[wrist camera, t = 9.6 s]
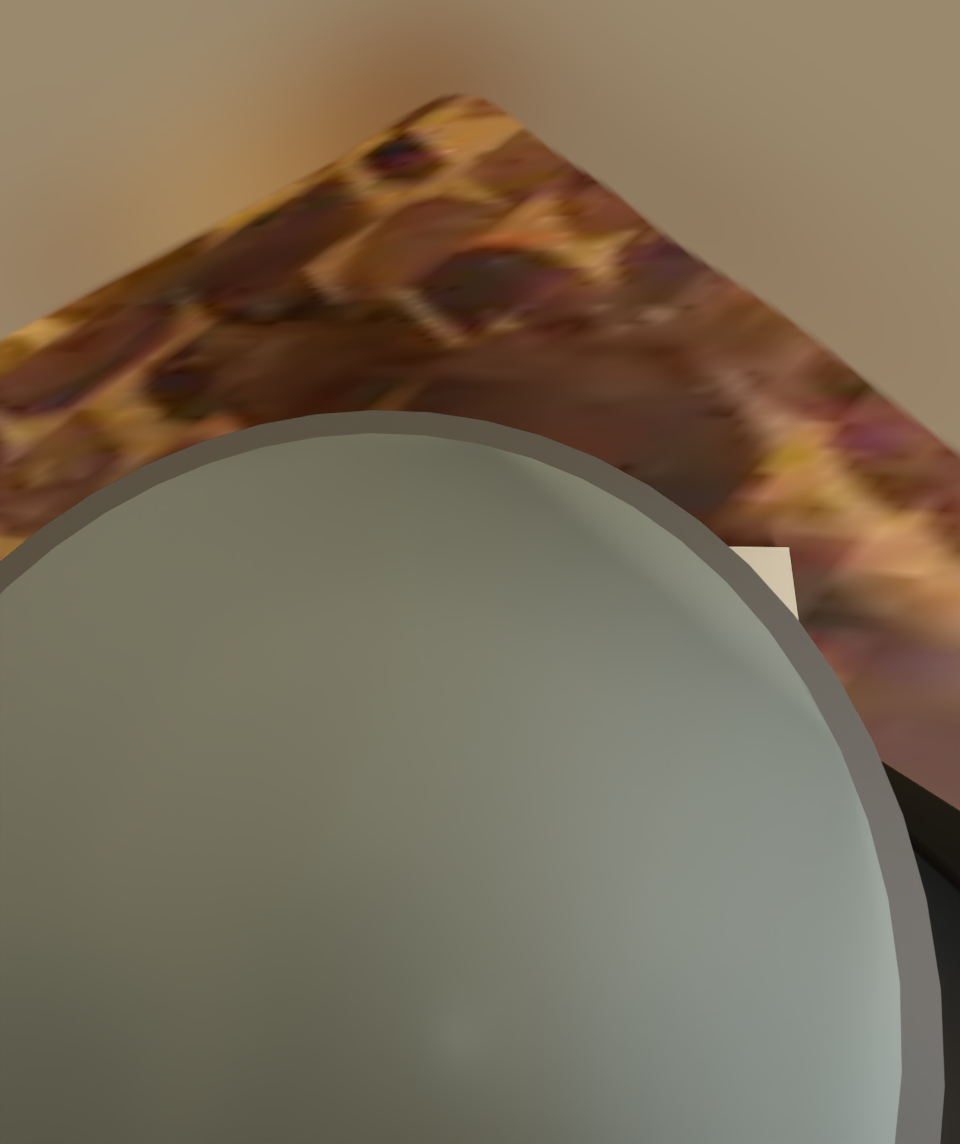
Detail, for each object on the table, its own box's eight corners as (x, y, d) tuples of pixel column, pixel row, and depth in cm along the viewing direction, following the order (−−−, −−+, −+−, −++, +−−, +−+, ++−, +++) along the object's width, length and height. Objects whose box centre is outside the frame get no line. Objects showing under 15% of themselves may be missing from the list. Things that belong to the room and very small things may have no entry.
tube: (518, 1025, 14) (586, 2501, 2) (335, 898, 16) (-526, 1132, 3) (618, 819, 16) (1080, 682, 3) (445, 716, 17) (240, 291, 4)
